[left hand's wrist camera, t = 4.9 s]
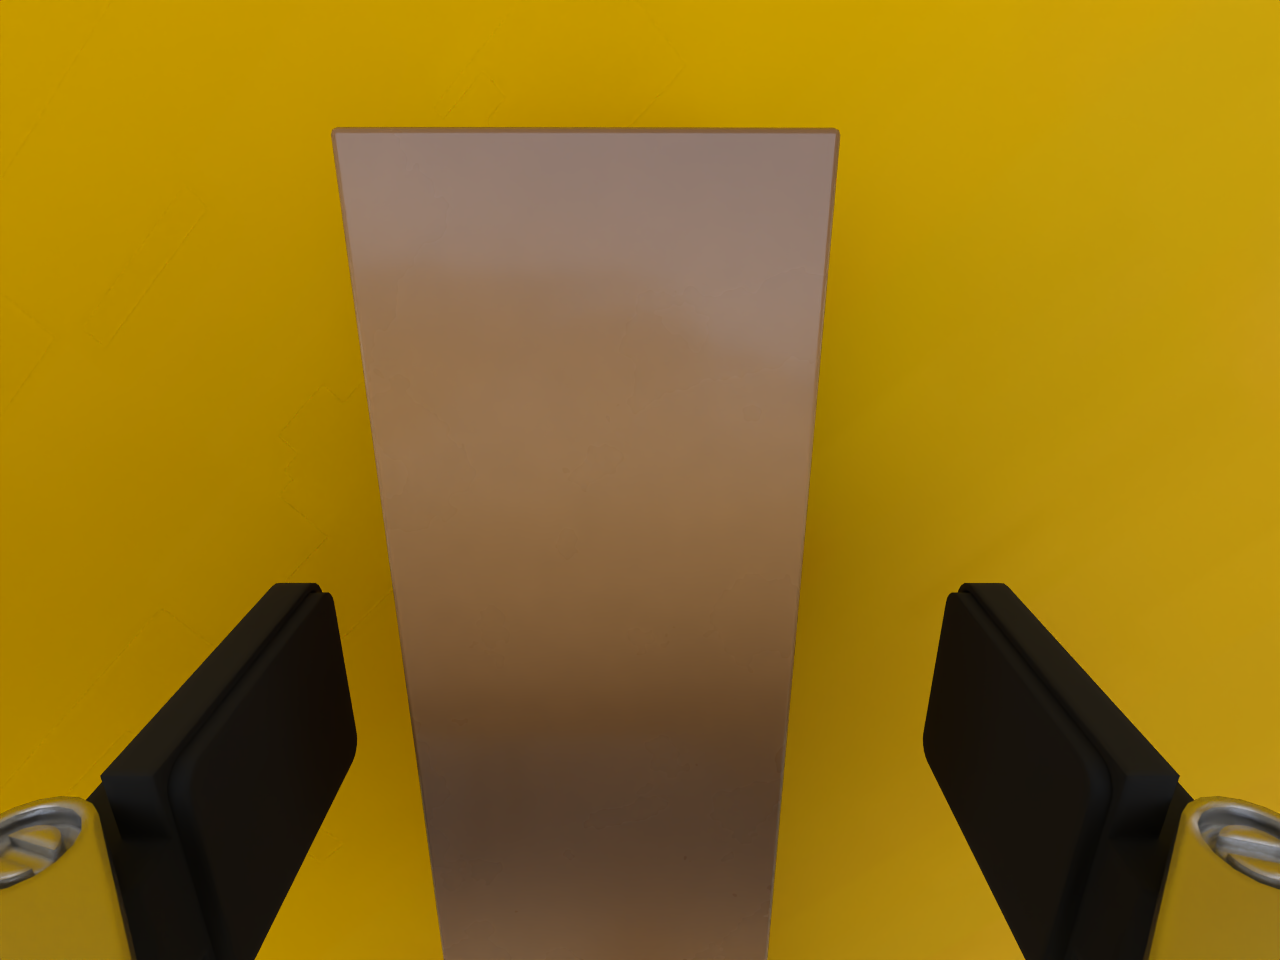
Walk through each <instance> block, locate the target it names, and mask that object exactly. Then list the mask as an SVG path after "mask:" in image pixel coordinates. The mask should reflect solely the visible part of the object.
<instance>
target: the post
mask: <svg viewBox="0 0 1280 960" xmlns="http://www.w3.org/2000/svg"><path fill="white" fill-rule="evenodd" d="M331 138H332V145H333V152H334V160H335V167H336V174H337V182H338V189H339V196H340V203H341V211H342V218H343V225H344V233H345V240H346V247H347V255H348V262H349V269H350V277H351V284H352V291H353V299H354V306H355V313H356V321H357V328H358V335H359V343H360V350H361V357H362V365H363V372H364V379H365V387H366V394H367V401H368V409H369V416H370V423H371V431H372V438H373V445H374V452H375V460H376V467H377V474H378V482H379V489H380V496H381V504H382V511H383V518H384V526H385V533H386V540H387V548H388V555H389V562H390V570H391V577H392V584H393V592H394V599H395V606H396V614H397V621H398V628H399V636H400V643H401V650H402V658H403V665H404V672H405V680H406V687H407V694H408V701H409V709H410V716H411V723H412V731H413V738H414V745H415V753H416V760H417V767H418V775H419V782H420V789H421V797H422V804H423V811H424V819H425V826H426V833H427V841H428V848H429V855H430V863H431V870H432V877H433V885H434V892H435V899H436V907H437V914H438V921H439V929H440V936H441V943H442V950H443V958H444V960H767V958H768V946H769V935H770V924H771V913H772V901H773V890H774V879H775V867H776V856H777V845H778V833H779V822H780V811H781V799H782V788H783V777H784V766H785V754H786V743H787V732H788V720H789V709H790V698H791V686H792V675H793V664H794V652H795V641H796V630H797V619H798V607H799V596H800V585H801V573H802V562H803V551H804V539H805V528H806V517H807V506H808V494H809V483H810V472H811V460H812V449H813V438H814V426H815V415H816V404H817V392H818V381H819V370H820V359H821V347H822V336H823V325H824V313H825V302H826V291H827V279H828V268H829V257H830V245H831V234H832V223H833V212H834V200H835V189H836V178H837V166H838V155H839V144H840V133H839V130H837V129H835V128H594V127H337V128H334V129H332V133H331Z"/></svg>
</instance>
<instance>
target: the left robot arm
mask: <svg viewBox="0 0 1280 960" xmlns="http://www.w3.org/2000/svg"><path fill="white" fill-rule="evenodd" d="M356 747H357V733H356V727H355V721H354V716H353V710H352V704H351V698H350V692H349V687H348V681H347V675H346V669H345V663H344V658H343V652H342V646H341V640H340V635H339V629H338V623H337V617H336V611H335V606H334V601H333V597H332V596H331V594H330V593H322V590H321V588H320V587H319V585H317V584H316V583H276V584H275V585H274V586H272V587H271V588H270V589H269V590H268V592H267V593H266V594H265V595H264V596H263V597H262V598H261V599H260V600H259V601H258V603H257V604H256V605H255V606H254V607H253V608H252V609H251V610H250V611H249V613H248V614H247V615H246V616H245V617H244V618H243V619H242V620H241V621H240V622H239V624H238V625H237V626H236V627H235V628H234V629H233V630H232V631H231V632H230V633H229V635H228V636H227V637H226V638H225V639H224V640H223V641H222V642H221V643H220V644H219V646H218V647H217V648H216V649H215V650H214V651H213V652H212V653H211V654H210V655H209V657H208V658H207V659H206V660H205V661H204V662H203V663H202V664H201V665H200V667H199V668H198V669H197V670H196V671H195V672H194V673H193V674H192V675H191V676H190V678H189V679H188V680H187V681H186V682H185V683H184V684H183V685H182V686H181V687H180V689H179V690H178V691H177V692H176V693H175V694H174V695H173V696H172V697H171V698H170V700H169V701H168V702H167V703H166V704H165V705H164V706H163V707H162V708H161V709H160V711H159V712H158V713H157V714H156V715H155V716H154V717H153V718H152V719H151V721H150V722H149V723H148V724H147V725H146V726H145V727H144V728H143V729H142V730H141V732H140V733H139V734H138V735H137V736H136V737H135V738H134V739H133V740H132V741H131V743H130V744H129V745H128V746H127V747H126V748H125V749H124V750H123V751H122V752H121V754H120V755H119V756H118V757H117V758H116V759H115V760H114V761H113V762H112V763H111V765H110V766H109V767H108V768H107V769H106V770H105V771H104V772H103V773H102V775H101V779H102V783H101V784H100V785H99V786H98V787H97V788H96V789H95V791H94V792H93V793H92V794H91V795H90V796H89V797H88V798H87V800H84V799H81V798H79V797H64V796H60V797H53V798H47V799H40V800H36V801H33V802H30V803H27V804H24V805H21V806H17V807H14V808H12V809H10V810H8V811H6V812H4V813H2V814H0V960H254V959H255V958H256V956H257V954H258V952H259V950H260V948H261V946H262V944H263V942H264V939H265V937H266V935H267V933H268V931H269V929H270V927H271V925H272V923H273V921H274V919H275V917H276V915H277V913H278V911H279V909H280V907H281V905H282V903H283V901H284V899H285V897H286V895H287V893H288V891H289V889H290V887H291V885H292V883H293V881H294V879H295V877H296V875H297V873H298V871H299V869H300V867H301V865H302V863H303V861H304V859H305V857H306V855H307V853H308V851H309V849H310V847H311V845H312V843H313V841H314V839H315V836H316V834H317V832H318V830H319V828H320V826H321V824H322V822H323V820H324V818H325V816H326V814H327V812H328V810H329V808H330V806H331V804H332V802H333V800H334V798H335V796H336V794H337V792H338V790H339V788H340V786H341V784H342V782H343V780H344V778H345V776H346V774H347V772H348V770H349V768H350V766H351V764H352V762H353V759H354V757H355V753H356ZM923 747H924V753H925V757H926V759H927V762H928V764H929V766H930V768H931V770H932V772H933V774H934V776H935V778H936V780H937V782H938V784H939V786H940V788H941V790H942V792H943V794H944V796H945V798H946V800H947V802H948V804H949V806H950V808H951V810H952V812H953V814H954V816H955V818H956V820H957V822H958V824H959V826H960V828H961V830H962V832H963V834H964V836H965V839H966V841H967V843H968V845H969V847H970V849H971V851H972V853H973V855H974V857H975V859H976V861H977V863H978V865H979V867H980V869H981V871H982V873H983V875H984V877H985V879H986V881H987V883H988V885H989V887H990V889H991V891H992V893H993V895H994V897H995V899H996V901H997V903H998V905H999V907H1000V909H1001V911H1002V913H1003V915H1004V917H1005V919H1006V921H1007V923H1008V925H1009V927H1010V929H1011V931H1012V933H1013V935H1014V937H1015V939H1016V942H1017V944H1018V946H1019V948H1020V950H1021V952H1022V954H1023V956H1024V958H1025V959H1026V960H1280V814H1278V813H1276V812H1274V811H1272V810H1270V809H1268V808H1266V807H1263V806H1259V805H1256V804H1253V803H1250V802H1247V801H1244V800H1240V799H1233V798H1227V797H1220V796H1216V797H1201V798H1199V799H1196V800H1193V798H1192V797H1191V796H1190V795H1189V794H1188V793H1187V792H1186V791H1185V789H1184V788H1183V787H1182V786H1181V785H1180V784H1179V783H1178V779H1179V775H1178V773H1177V772H1176V771H1175V770H1174V769H1173V768H1172V767H1171V766H1170V765H1169V763H1168V762H1167V761H1166V760H1165V759H1164V758H1163V757H1162V756H1161V755H1160V754H1159V752H1158V751H1157V750H1156V749H1155V748H1154V747H1153V746H1152V745H1151V744H1150V743H1149V741H1148V740H1147V739H1146V738H1145V737H1144V736H1143V735H1142V734H1141V733H1140V732H1139V730H1138V729H1137V728H1136V727H1135V726H1134V725H1133V724H1132V723H1131V722H1130V721H1129V719H1128V718H1127V717H1126V716H1125V715H1124V714H1123V713H1122V712H1121V711H1120V709H1119V708H1118V707H1117V706H1116V705H1115V704H1114V703H1113V702H1112V701H1111V700H1110V698H1109V697H1108V696H1107V695H1106V694H1105V693H1104V692H1103V691H1102V690H1101V689H1100V687H1099V686H1098V685H1097V684H1096V683H1095V682H1094V681H1093V680H1092V679H1091V678H1090V676H1089V675H1088V674H1087V673H1086V672H1085V671H1084V670H1083V669H1082V668H1081V667H1080V665H1079V664H1078V663H1077V662H1076V661H1075V660H1074V659H1073V658H1072V657H1071V655H1070V654H1069V653H1068V652H1067V651H1066V650H1065V649H1064V648H1063V647H1062V646H1061V644H1060V643H1059V642H1058V641H1057V640H1056V639H1055V638H1054V637H1053V636H1052V635H1051V633H1050V632H1049V631H1048V630H1047V629H1046V628H1045V627H1044V626H1043V625H1042V624H1041V622H1040V621H1039V620H1038V619H1037V618H1036V617H1035V616H1034V615H1033V614H1032V613H1031V611H1030V610H1029V609H1028V608H1027V607H1026V606H1025V605H1024V604H1023V603H1022V601H1021V600H1020V599H1019V598H1018V597H1017V596H1016V595H1015V594H1014V593H1013V592H1012V590H1011V589H1010V588H1009V587H1008V586H1006V585H1005V584H1004V583H964V584H963V585H961V587H960V588H959V590H958V593H950V594H949V596H948V597H947V601H946V606H945V611H944V617H943V623H942V629H941V635H940V640H939V646H938V652H937V658H936V663H935V669H934V675H933V681H932V687H931V692H930V698H929V704H928V710H927V716H926V721H925V727H924V733H923Z"/></svg>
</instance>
